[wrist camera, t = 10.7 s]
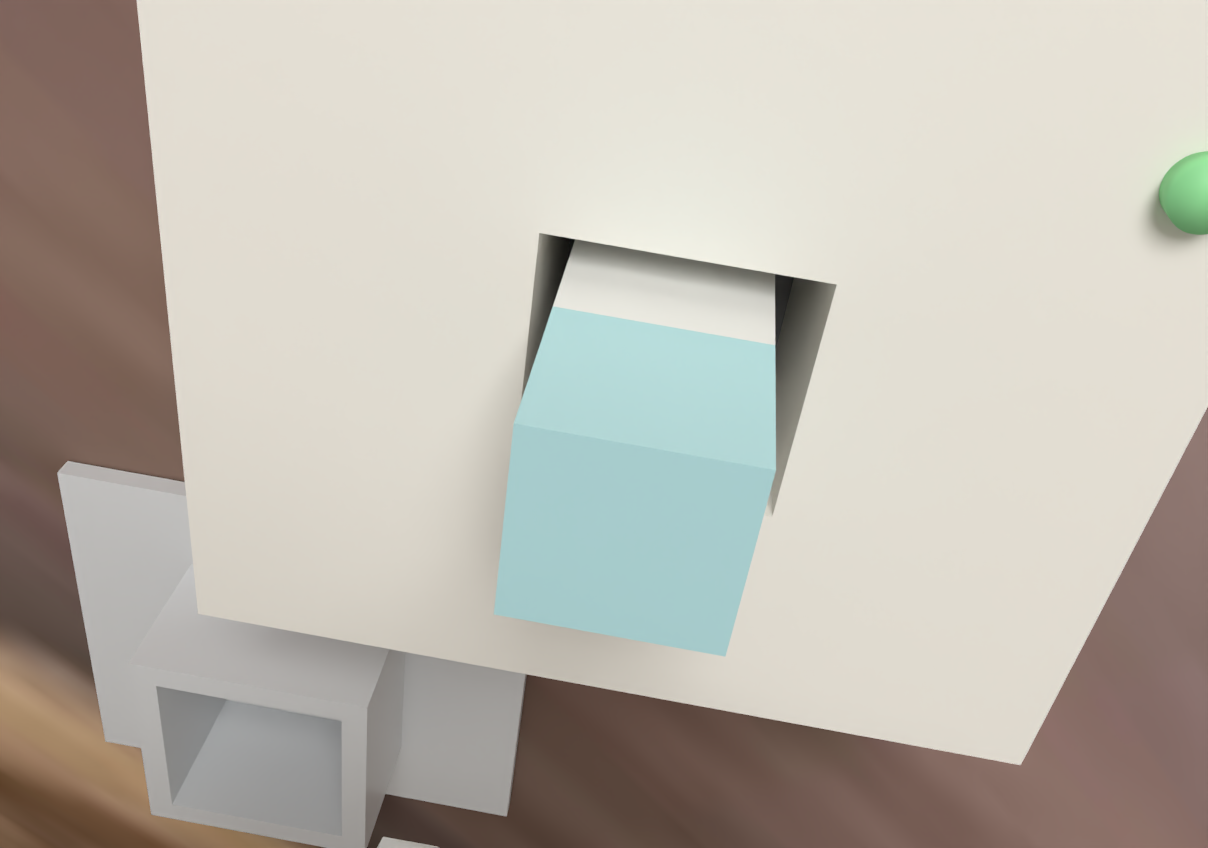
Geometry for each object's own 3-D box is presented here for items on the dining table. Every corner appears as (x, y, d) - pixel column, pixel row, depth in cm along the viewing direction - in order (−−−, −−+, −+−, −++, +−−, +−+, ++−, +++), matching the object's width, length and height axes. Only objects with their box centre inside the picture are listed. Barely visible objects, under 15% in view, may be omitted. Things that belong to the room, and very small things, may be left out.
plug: (583, 304, 23) (493, 613, 16) (603, 154, 21) (513, 423, 14) (740, 332, 23) (725, 656, 16) (774, 183, 21) (775, 469, 14)
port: (302, 438, 27) (189, 628, 22) (286, -237, 19) (100, -196, 14) (974, 558, 27) (1024, 782, 21) (1243, -82, 19) (1427, 24, 13)
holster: (113, 728, 34) (42, 843, 31) (68, 461, 28) (-25, 567, 25) (509, 802, 34) (481, 926, 30) (543, 546, 28) (513, 666, 25)
